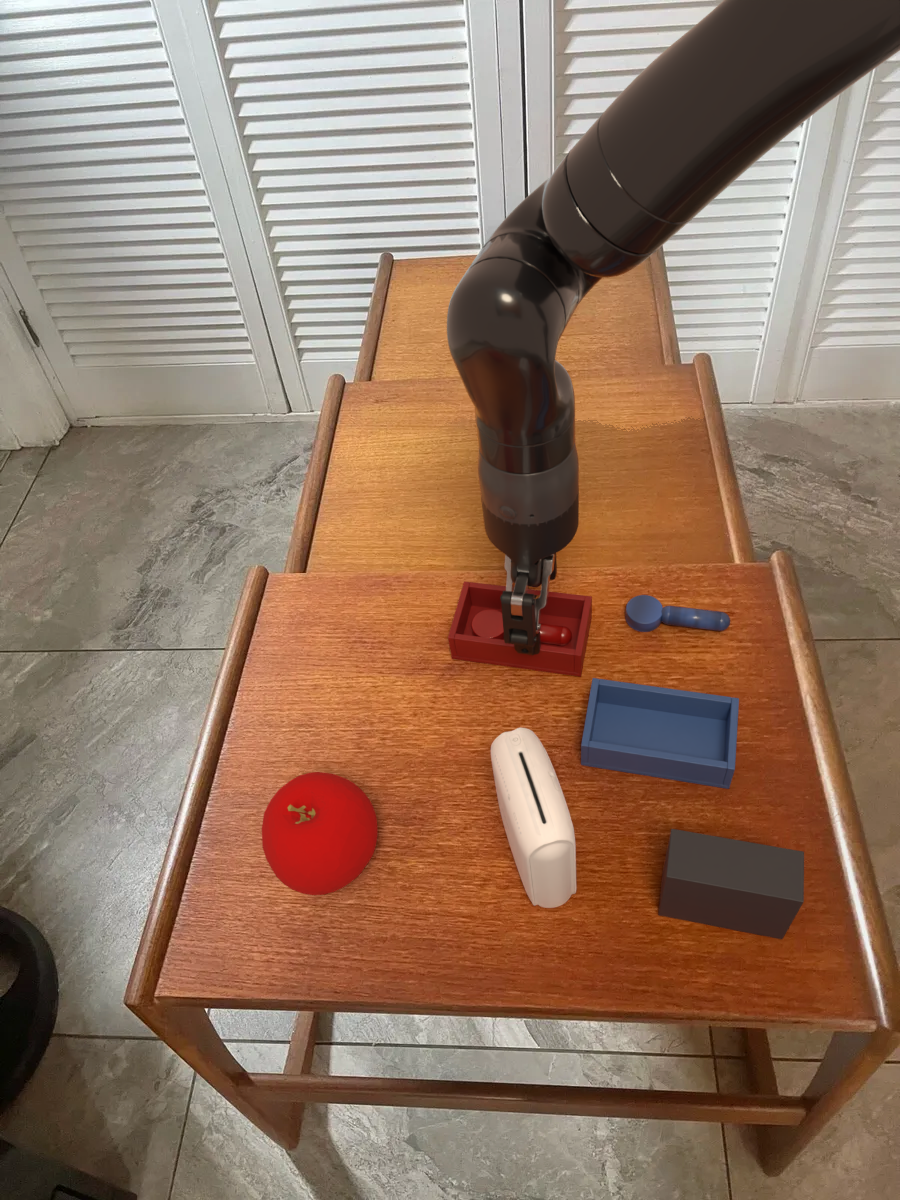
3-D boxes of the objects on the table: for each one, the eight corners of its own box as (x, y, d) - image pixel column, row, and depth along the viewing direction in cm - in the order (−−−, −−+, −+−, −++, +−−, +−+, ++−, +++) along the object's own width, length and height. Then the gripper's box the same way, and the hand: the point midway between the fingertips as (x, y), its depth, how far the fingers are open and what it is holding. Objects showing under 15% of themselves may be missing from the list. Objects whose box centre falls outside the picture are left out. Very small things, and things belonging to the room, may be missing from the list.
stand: (783, 892, 69) (804, 851, 62) (782, 939, 67) (803, 902, 60) (662, 870, 71) (671, 828, 64) (658, 915, 69) (666, 876, 62)
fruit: (294, 796, 78) (262, 740, 70) (395, 807, 76) (374, 751, 69) (263, 901, 73) (225, 853, 65) (371, 916, 71) (346, 869, 63)
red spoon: (574, 628, 85) (574, 616, 84) (569, 657, 83) (569, 646, 82) (476, 615, 87) (475, 604, 86) (469, 644, 85) (467, 633, 84)
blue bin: (733, 719, 78) (739, 697, 75) (729, 789, 74) (735, 769, 71) (592, 698, 81) (592, 677, 78) (580, 765, 77) (581, 745, 74)
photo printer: (493, 798, 76) (480, 725, 66) (541, 784, 76) (536, 709, 67) (530, 916, 70) (522, 854, 60) (583, 900, 70) (584, 836, 60)
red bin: (591, 618, 86) (592, 596, 83) (581, 677, 82) (581, 655, 80) (467, 603, 89) (464, 580, 86) (451, 659, 85) (447, 637, 82)
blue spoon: (729, 613, 85) (732, 602, 83) (727, 643, 83) (730, 631, 81) (627, 601, 87) (628, 589, 86) (623, 629, 85) (624, 618, 84)
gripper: (562, 561, 64) (565, 683, 77) (591, 425, 72) (589, 557, 85) (460, 549, 66) (479, 671, 79) (499, 418, 74) (511, 548, 87)
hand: (536, 612), depth 82 cm, fingers open, 8 cm apart
